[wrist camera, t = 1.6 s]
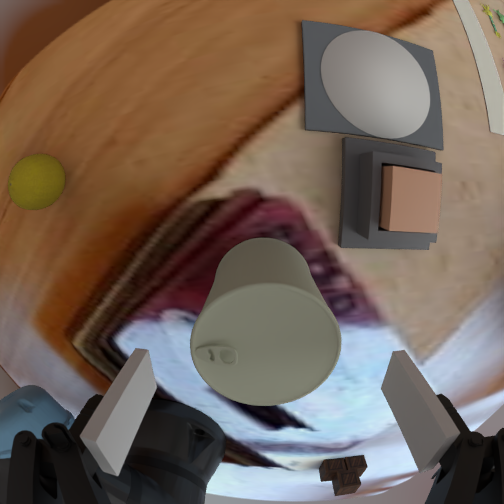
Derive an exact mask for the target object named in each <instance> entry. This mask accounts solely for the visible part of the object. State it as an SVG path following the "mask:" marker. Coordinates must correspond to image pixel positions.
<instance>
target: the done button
mask: <svg viewBox="0 0 504 504" xmlns="http://www.w3.org/2000/svg"><path fill="white" fill-rule="evenodd" d="M441 190H442V174H439V173H434V172H428V171H422V170H416V169H410V168H404V167H397V166H383V167H381V195H380V212H379V225H378V226H379V227H382V228H384V229H386V230H388V231H403V232H421V233H438V227H439V217H440V206H441Z"/></svg>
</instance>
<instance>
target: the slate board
mask: <svg viewBox="0 0 504 504" xmlns="http://www.w3.org/2000/svg"><path fill="white" fill-rule="evenodd" d="M302 39H303V60H304V92H305V130H309V131H322V132H333V133H343V134H351V135H359V136H367V137H374V138H380V139H387V140H393V141H398V142H404V143H409V144H414V145H419V146H424V147H428V148H433V149H437V150H443V127H442V113H441V102H440V93H439V85H438V78H437V72H436V66H435V60H434V55H433V51H432V50H430V49H427V48H424V47H421V46H418V45H416V44H413V43H410V42H406V41H403V40H400V39H397V38H393V37H390V36H386V35H382V34H379V33H376V32H371V31H366V30H361V29H356V28H351V27H346V26H341V25H335V24H328V23H321V22H313V21H304V20H302Z"/></svg>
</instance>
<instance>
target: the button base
mask: <svg viewBox="0 0 504 504" xmlns="http://www.w3.org/2000/svg"><path fill="white" fill-rule="evenodd" d="M383 166H397V167H404V168H410V169H416V170H422V171H428V172H434V173H439V174H442V163H438V162H435V152H433V151H428V150H423V149H418V148H413V147H408V146H403V145H397V144H391V143H385V142H378V141H372V140H364V139H356V138H348V137H345V138H343V139H342V189H341V211H340V227H339V241H338V246H340V247H341V248H376V249H419V250H429V245H430V242H433V243H436V240H437V233H421V232H403V231H388V230H386V229H384V228H382V227H379V226H378V225H379V212H380V195H381V167H383Z"/></svg>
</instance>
